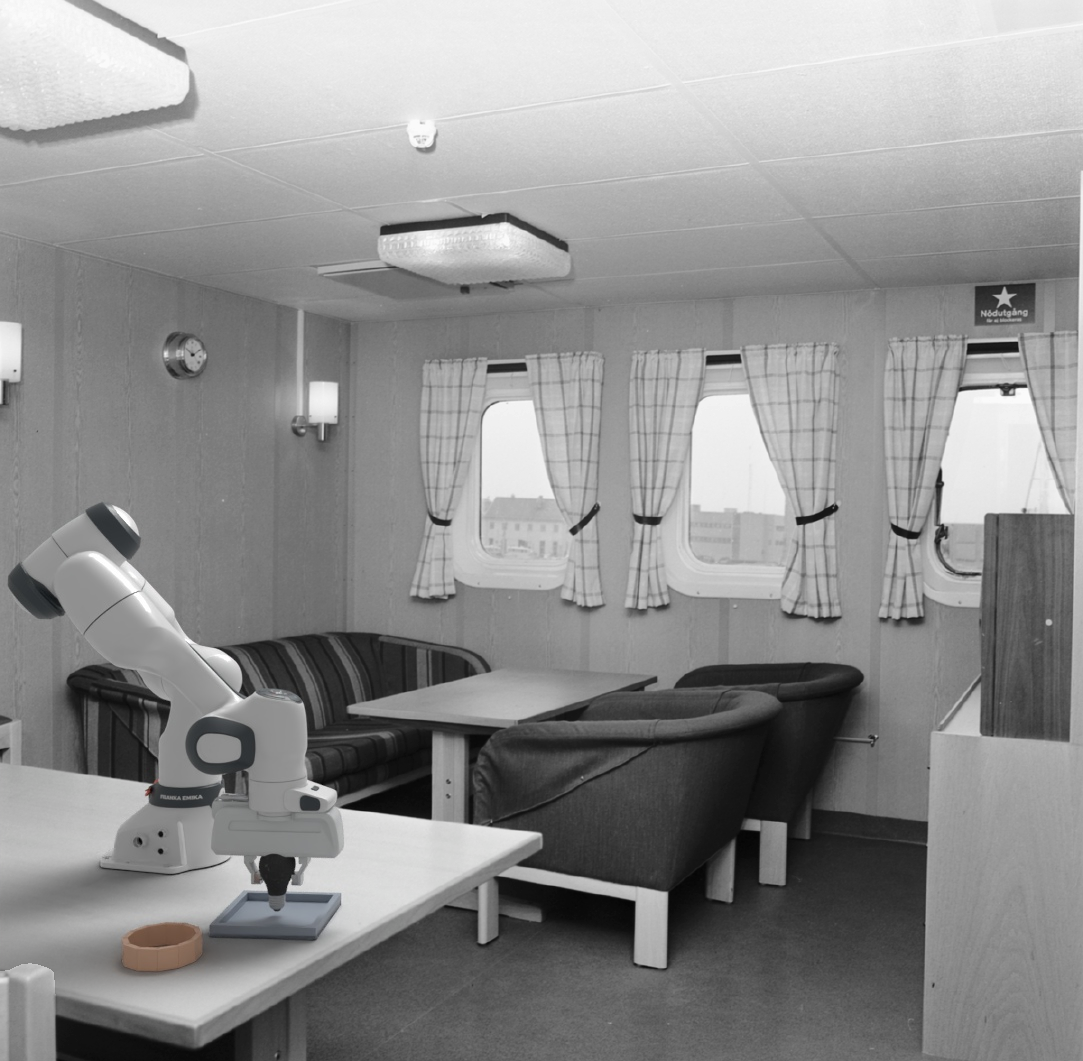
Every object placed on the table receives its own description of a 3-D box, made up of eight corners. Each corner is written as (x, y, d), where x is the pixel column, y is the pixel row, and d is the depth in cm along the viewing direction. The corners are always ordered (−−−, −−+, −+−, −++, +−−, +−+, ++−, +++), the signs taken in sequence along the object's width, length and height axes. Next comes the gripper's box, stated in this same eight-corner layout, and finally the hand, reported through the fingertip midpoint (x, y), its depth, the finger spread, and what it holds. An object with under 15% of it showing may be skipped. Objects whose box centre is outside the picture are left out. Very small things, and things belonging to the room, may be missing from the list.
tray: (209, 936, 173) (209, 924, 173) (243, 901, 189) (243, 890, 189) (315, 939, 172) (315, 927, 172) (341, 903, 188) (341, 892, 188)
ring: (109, 969, 161) (109, 948, 161) (140, 941, 171) (140, 921, 171) (184, 972, 160) (185, 950, 160) (211, 943, 170) (211, 923, 170)
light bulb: (261, 905, 183) (261, 841, 183) (297, 904, 184) (297, 840, 184) (255, 917, 178) (256, 851, 177) (293, 916, 178) (293, 851, 178)
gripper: (204, 798, 178) (204, 888, 178) (337, 801, 177) (336, 892, 177) (218, 788, 184) (218, 875, 185) (347, 791, 183) (346, 879, 183)
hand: (277, 883), depth 181 cm, fingers closed on light bulb, 5 cm apart
